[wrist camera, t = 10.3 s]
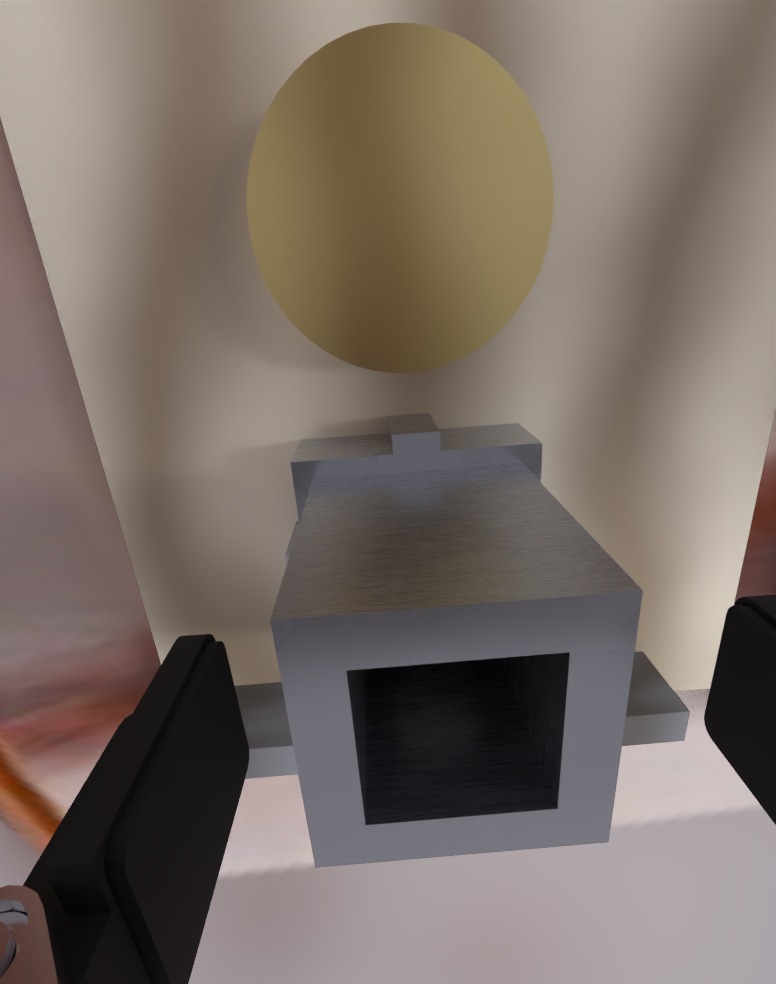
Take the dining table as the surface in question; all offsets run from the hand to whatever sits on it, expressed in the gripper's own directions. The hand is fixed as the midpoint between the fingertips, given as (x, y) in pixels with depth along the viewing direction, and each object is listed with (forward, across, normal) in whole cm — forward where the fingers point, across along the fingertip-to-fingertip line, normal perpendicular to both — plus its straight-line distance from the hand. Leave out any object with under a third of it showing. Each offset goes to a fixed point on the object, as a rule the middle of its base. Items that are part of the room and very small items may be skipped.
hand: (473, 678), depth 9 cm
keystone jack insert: (+7, +1, 0) cm, 7 cm away
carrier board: (+8, 0, -4) cm, 9 cm away
